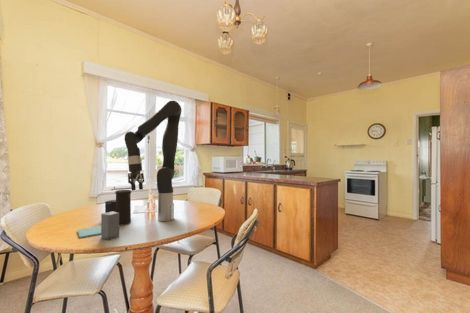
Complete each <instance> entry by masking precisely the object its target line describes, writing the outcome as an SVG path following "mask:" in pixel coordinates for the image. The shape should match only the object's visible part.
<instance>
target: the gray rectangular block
mask: <svg viewBox="0 0 470 313" xmlns="http://www.w3.org/2000/svg"><path fill="white" fill-rule="evenodd" d="M100 216H101V221H100V222H101V223H100V224H101V225H100V226H101V235H100V236H101V238H100V239H102V240H106V241H111V240H113V239H117V238H119V237H120V225H119V213H118V212H113V211H112V212H107V213H105V212H103V213H101V214H100Z"/></svg>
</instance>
